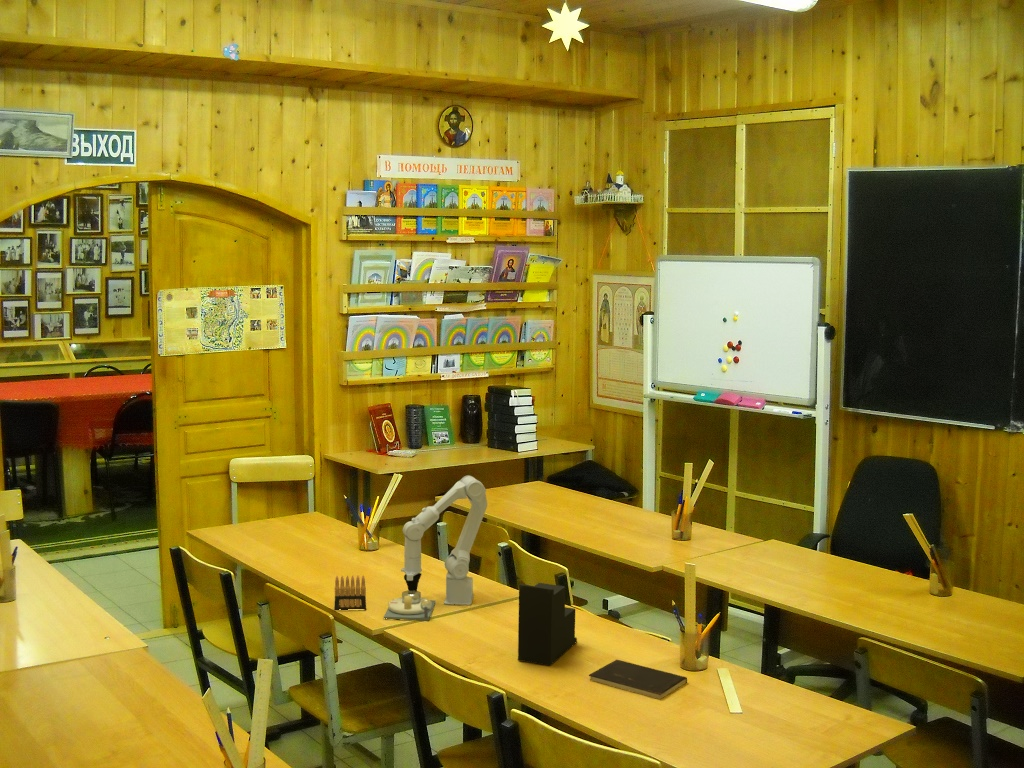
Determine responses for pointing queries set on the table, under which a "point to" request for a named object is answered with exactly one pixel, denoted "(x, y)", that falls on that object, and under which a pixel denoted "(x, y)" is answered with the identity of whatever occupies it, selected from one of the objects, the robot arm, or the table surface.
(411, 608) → the turntable
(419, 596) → the cover
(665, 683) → the hardcover book
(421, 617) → the base plate
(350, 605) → the ammunition clip
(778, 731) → the table surface
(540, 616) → the bookend
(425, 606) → the dial gauge
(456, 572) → the robot arm
